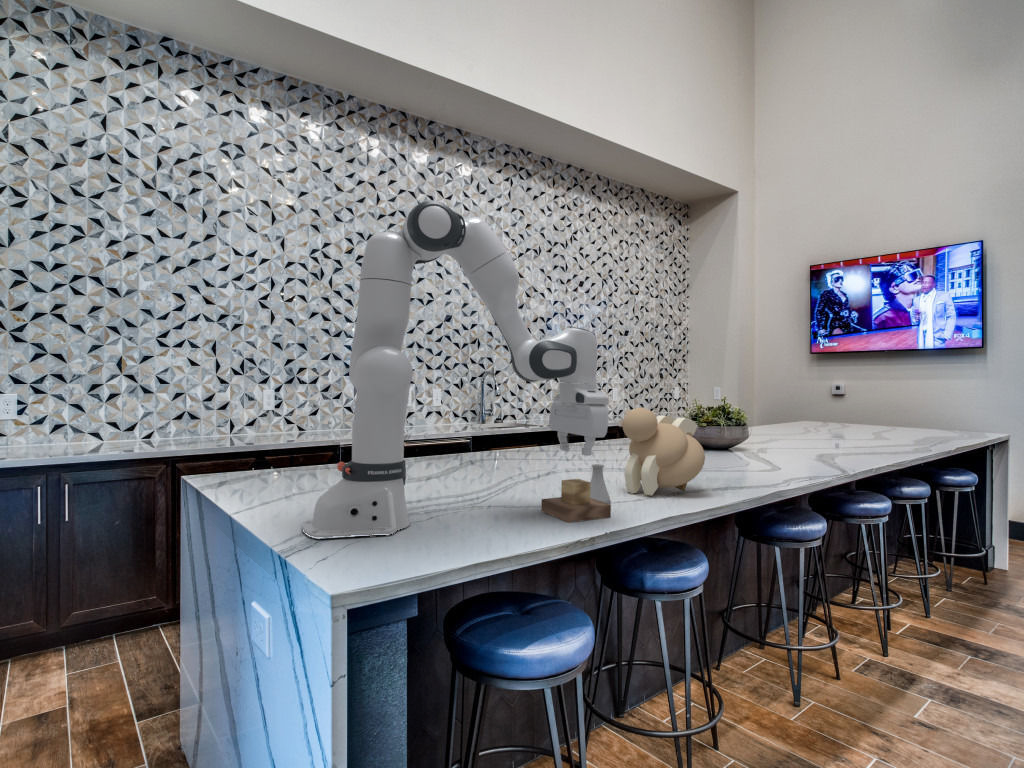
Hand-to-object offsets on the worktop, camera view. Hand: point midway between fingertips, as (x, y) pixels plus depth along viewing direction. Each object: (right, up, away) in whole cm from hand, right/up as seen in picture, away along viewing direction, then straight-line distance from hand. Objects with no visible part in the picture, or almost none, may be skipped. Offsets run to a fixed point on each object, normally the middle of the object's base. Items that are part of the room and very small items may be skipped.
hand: (575, 452), depth 140 cm
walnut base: (0, -15, 0) cm, 15 cm away
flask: (+7, -15, +14) cm, 22 cm away
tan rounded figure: (+29, -15, +31) cm, 45 cm away
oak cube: (0, -12, 0) cm, 12 cm away
